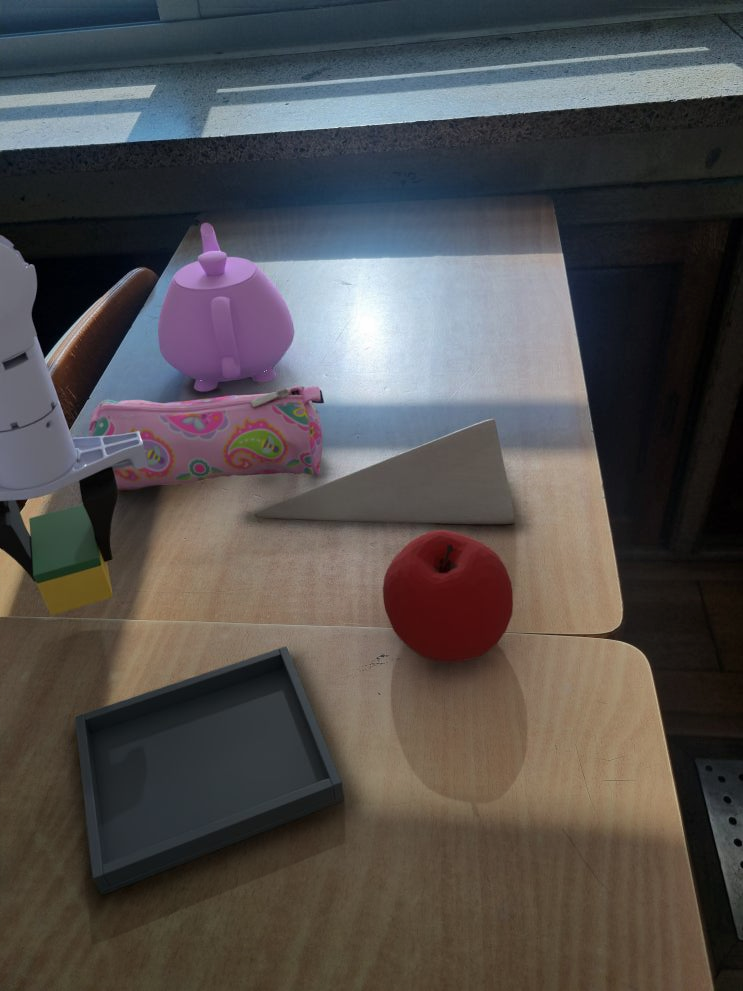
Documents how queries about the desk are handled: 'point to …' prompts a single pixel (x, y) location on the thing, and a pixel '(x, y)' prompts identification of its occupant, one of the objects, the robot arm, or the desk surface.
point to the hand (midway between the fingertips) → (73, 562)
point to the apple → (448, 596)
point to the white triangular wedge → (417, 486)
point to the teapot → (223, 319)
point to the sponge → (68, 560)
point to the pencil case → (217, 436)
